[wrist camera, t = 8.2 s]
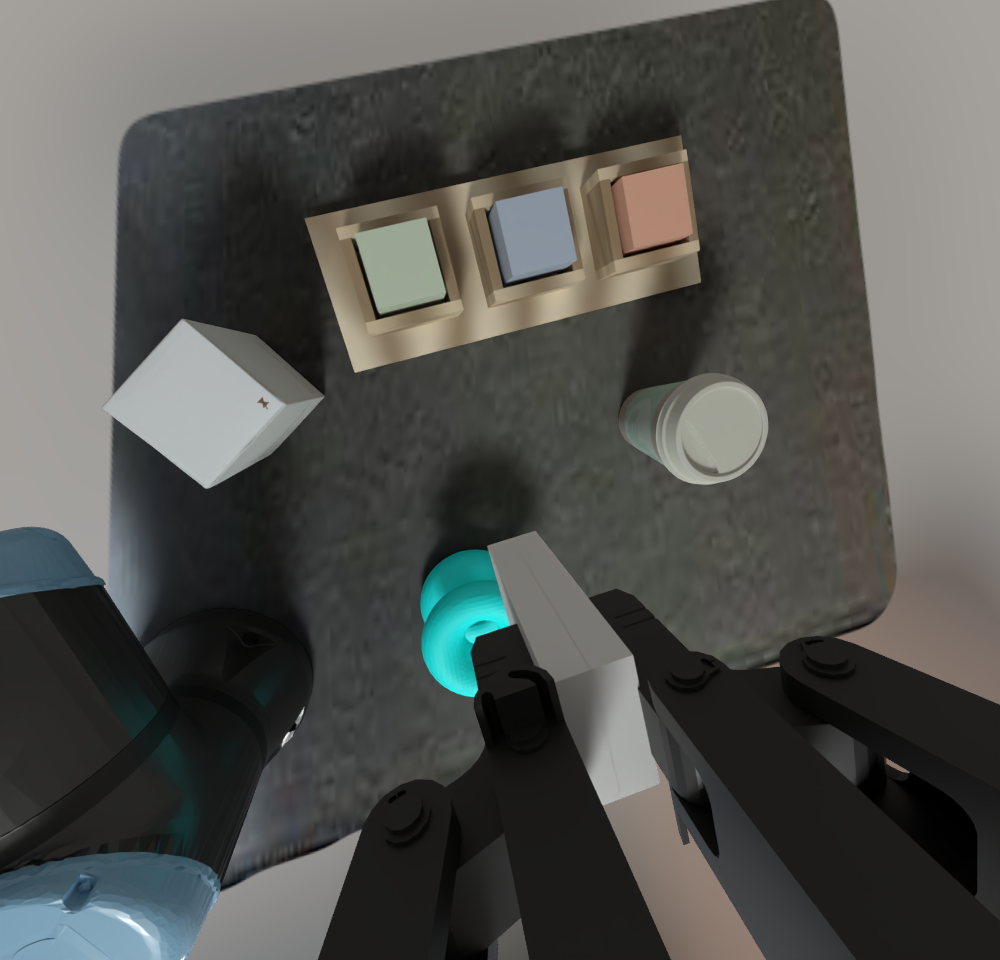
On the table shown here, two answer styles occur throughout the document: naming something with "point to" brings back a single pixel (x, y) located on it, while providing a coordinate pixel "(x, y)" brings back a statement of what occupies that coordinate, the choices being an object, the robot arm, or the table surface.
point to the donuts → (459, 616)
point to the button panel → (473, 266)
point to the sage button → (401, 266)
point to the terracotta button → (652, 209)
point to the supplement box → (213, 400)
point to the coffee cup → (697, 427)
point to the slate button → (531, 235)
